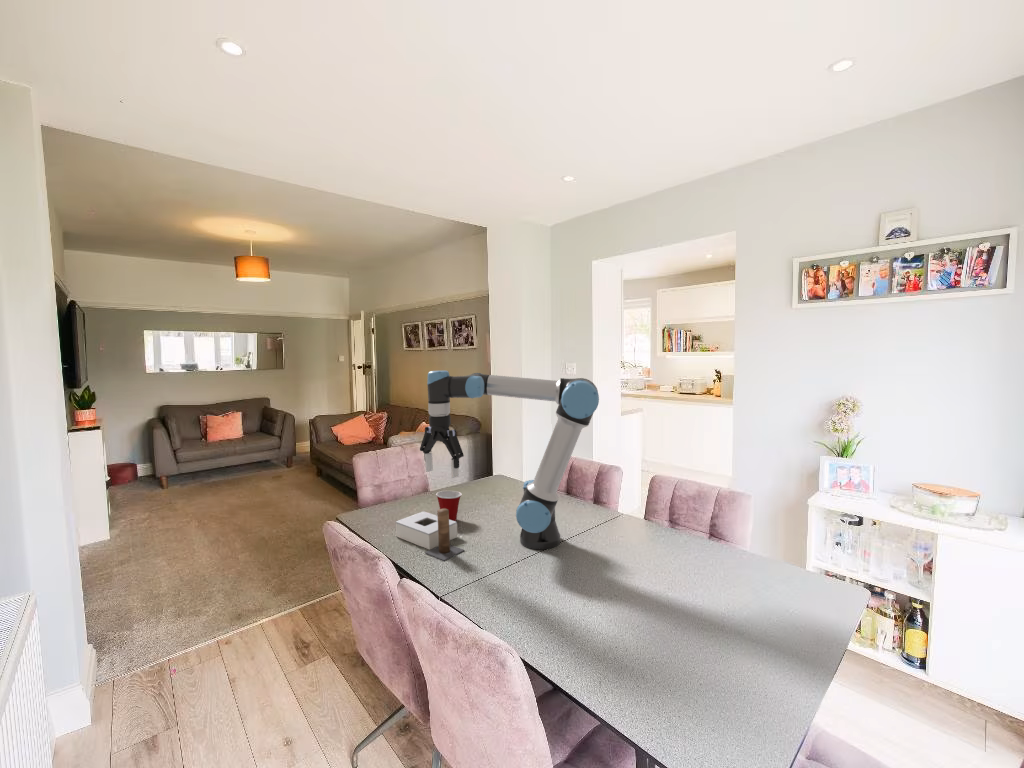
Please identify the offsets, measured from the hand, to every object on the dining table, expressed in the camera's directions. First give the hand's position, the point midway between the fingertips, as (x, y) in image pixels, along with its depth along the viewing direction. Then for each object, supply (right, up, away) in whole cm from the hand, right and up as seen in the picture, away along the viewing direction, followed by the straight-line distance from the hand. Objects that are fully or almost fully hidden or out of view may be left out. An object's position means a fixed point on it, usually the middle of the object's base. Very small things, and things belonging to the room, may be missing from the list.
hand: (441, 474), depth 166 cm
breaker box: (-8, -28, +17) cm, 33 cm away
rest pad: (+1, -29, +3) cm, 29 cm away
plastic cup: (-1, -26, +33) cm, 42 cm away
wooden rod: (+1, -28, +2) cm, 28 cm away
